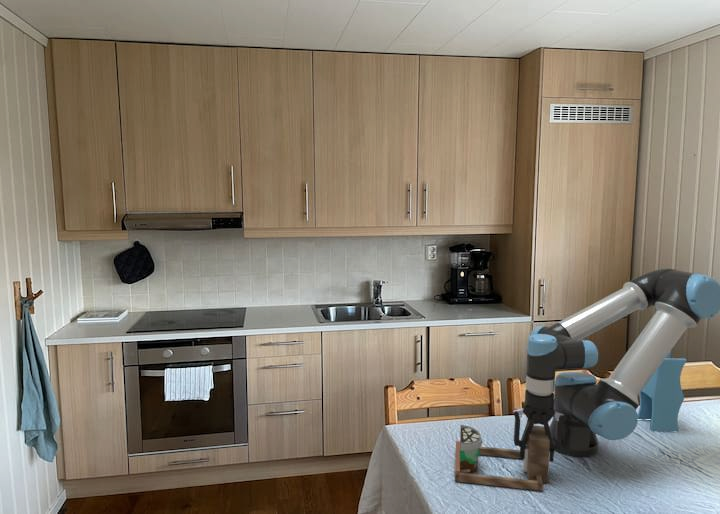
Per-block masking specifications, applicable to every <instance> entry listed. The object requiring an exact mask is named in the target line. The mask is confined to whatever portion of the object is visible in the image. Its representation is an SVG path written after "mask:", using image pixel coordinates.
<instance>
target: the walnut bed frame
mask: <svg viewBox="0 0 720 514" xmlns="http://www.w3.org/2000/svg"><path fill="white" fill-rule="evenodd" d="M526 445H527V448H528V462H527V472H526V476H527V479H523V478H515V477H514V478H513V477H503V476H497V475H496V476H495V475H486V474H477V473H472V474H469V473H460V440H455V458H454V459H455V463H454V465H455V469H454V470H455V471H454V482H460V483H468V484H476V485H477V484H478V485H484V486H485V485H487V486H495V487H505V488H510V489H511V488H513V489H521V490H529V491H530V490H531V491H538V492H539V491H540V492H543V490H544V484H543V483H545V484H548V482H549V481H548V479H549V474H548V465H549V466H550V461H549V446H550V440H549V438H548V436H547V435H546V433H545V429H544V425H534V426H533V428H532V430H531V433H530V434H529V439H528V442H527V444H526ZM479 455H481V456H490V457H499V458H513V459H521V457H520V449H509V448H501V447H500V448H499V447H492V446H490V447H489V446H482V445H481V446H480V447H479ZM521 460H522V459H521Z"/></svg>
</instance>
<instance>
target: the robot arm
mask: <svg viewBox="0 0 720 514" xmlns="http://www.w3.org/2000/svg"><path fill="white" fill-rule="evenodd" d="M651 307H655V309H656V310H655V313H654V314H653V316H652V317H651V318H650V320H649V321H648V323H647V324H646V325H645V326H644V327H643V329H642V331H641V332H640V333H639V335H638V336H637V338H636V339H635V340H634V342H633V343H632V345H631V346H630V347H629V349H628V350H627V351H626V353H625V354H624V356H623V357H622V358H621V360H620V361H619V363H618V364H617V366H616V367H615V369H614V370H613V371H612V373H611V374H610V375H609V377H607V378H600V379H599V380H598V381H597V377H596V376H595V375H593V374H590V373H587V372H578V371H577V372H576V371H567V372H566V371H565V372H560V373H558V374H557V375H556V370H557V371H558V370H575V369H582V370H583V369H588V368H593V367H594V366H596V365H597V363H598V360H599V350H598V348H597V346H596V344H595V343H594V342H592V340H584V338H586V337H588V336H590V335H592V334H594V333H596V332H598V331H599V330H601V329H603V328H605V327H607V326H610V325H611V324H613V323H614V322H617V321H618V320H620V319H623V318H624V317H626V316H628V315H630V314H631V313H633V312H636V311H637V310H640V311H645V310H646V309H649V308H651ZM719 312H720V283H719V282H718V281H717V279H715V278H713V277H711V276H709V275H704V274H702V273H700V272H698V273H695V272H689V271H683V270H678V269H673V268H659V269H655V270H651V271H648V272H646V273H643V274H640V275H639V276H636V277H635V278H632V279H630V280H628V281H627V282H625V283H623V285H622V288H621V289H618V290H616V291H615V292H612V293H611V294H609V295H607V296H605V297H603V298H601V299H600V300H598V301H596V302H594V303H593V304H590V305H589V306H587V307H584V308H583V309H581V310H579V311H577V312H576V313H572V314H571V315H569V316H568V317H565V318H564V319H562V320H560V321H558V322H557V323H554V324H553V325H551V326H549V327H548V326H544V325H538V326H535V328H533V330H532V331H531V333H530V336H529V337H528V339H527V347H526V372H525V373H526V374H525V391H524V393H525V394H524V405H523V406H522V408H519V409H517V408H514V409H513V416H514V431H513V443H514V446H515V447H519V450H520V457H521V460H523V462H522V463H523V464H522V465H523V466H522V468H523V471H524V472H523V473H525V472H527V462H528V448H527V445H526V444H527V442H528V439H529V434H530V433H531V430H532V428H533V426H535V425H539V424H540V426H544V429H545V433H546V435H547V436H548V438H549V440H550V446H549V463H552V462H554V460H555V459H554V458H555V457H554V456H555V455H554V454H555V452H558V453H560V454H564V455H566V456H570V457H571V456H572V457H577V458H586V457H592V456H594V455H596V454H598V452H599V440H598V436H600V437H601V438H603V439H605V440H608V441H618V440H619V441H620V440H623V439H626V438H627V437H629V436H630V435H631V434H632V433H634V431H635V429H636V427H637V426H638V422H639V420H637V419H638V411H637V409H639V407H640V401H639V398H638V397H639V394H640V393H641V391H642V390H643V388H644V387H645V386H646V384H647V383H648V381H649V380H650V379H651V377H652V376H653V374H654V373H655V372H656V370H657V369H658V368H659V366H660V365H661V363H662V362H663V361H664V359H665V358H666V356H667V355H668V354H669V352H670V351H672V350H673V348H674V347H675V345H676V344H677V343H678V341H679V340H680V338H681V337H682V335H683V334H684V333H685V331H686V330H687V329H689V328H696V327H697V325H698V324H699V322H700V321H701V320H702V319H711V318H713V317H715V316H717V314H719ZM523 414H524V415H525V417H526V419H527V420H526V425H525V428H524V430H523V433H522V437H521V439H520V434H521V433H520V432H521V418H522V417H523ZM550 421H551V422H550ZM549 422H550V424H549ZM549 474H550V464H549V465H548V475H549Z"/></svg>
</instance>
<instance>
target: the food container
mask: <svg viewBox="0 0 720 514" xmlns="http://www.w3.org/2000/svg"><path fill="white" fill-rule="evenodd" d="M459 437H460V440H459V441H460V473H469V474H475V473H476V472H477V470H478V466H479V465H478V464H479V463H478V462H479V447H480V446H481V447H482V445H483V439H482V435H481V433H480V432H479V430H477V429H476V428H474V427H472V426H469V425H464V424H460V436H459Z"/></svg>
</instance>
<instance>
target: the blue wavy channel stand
mask: <svg viewBox="0 0 720 514" xmlns="http://www.w3.org/2000/svg"><path fill="white" fill-rule="evenodd" d="M671 351H672V350H671ZM671 351H670V352H669V354H668V355H667V356H666V358H665V359H664V361H663V362H662V363H661V365H660V366H659V368H658V369H657V370H656V372H655V373H654V374H653V376H652V377H651V379H650V380H649V381H648V383H647V384H646V386H645V387H644V388H643V390H642V391H641V393H640V394H639V395H638V397H639V407H638V411H637V414H638V419H651V420H650V424H649V425H650V426H649V431H650V430H651V431H678V432H679V424H678V422H679V421H678V420H679V419H678V418H679V412H680V409H681V407H682V405H683V402H684V400H685V395H684V392H683V388H682V385H681V376H682V372H683V368H684V367H685V364H686V362H687V358H676V357H675V358H674V357H672V358H670V357H671V353H672V352H671ZM651 431H650V432H651Z"/></svg>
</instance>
